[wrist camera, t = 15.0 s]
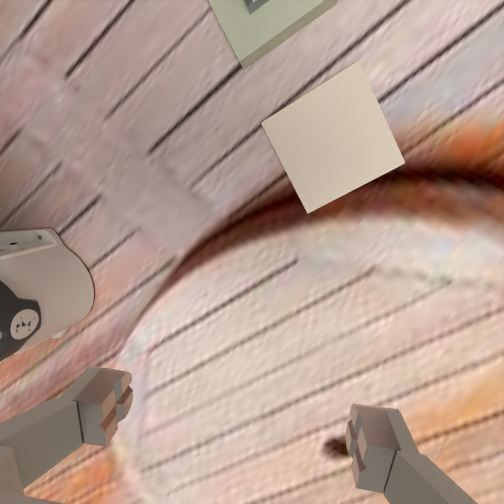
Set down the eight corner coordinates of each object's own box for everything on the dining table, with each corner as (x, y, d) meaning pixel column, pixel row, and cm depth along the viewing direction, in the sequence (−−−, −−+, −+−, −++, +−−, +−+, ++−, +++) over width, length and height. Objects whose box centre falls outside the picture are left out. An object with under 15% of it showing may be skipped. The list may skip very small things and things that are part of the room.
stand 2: (307, 211, 38) (307, 213, 35) (263, 126, 36) (260, 122, 34) (397, 163, 35) (405, 163, 32) (355, 68, 33) (359, 60, 30)
